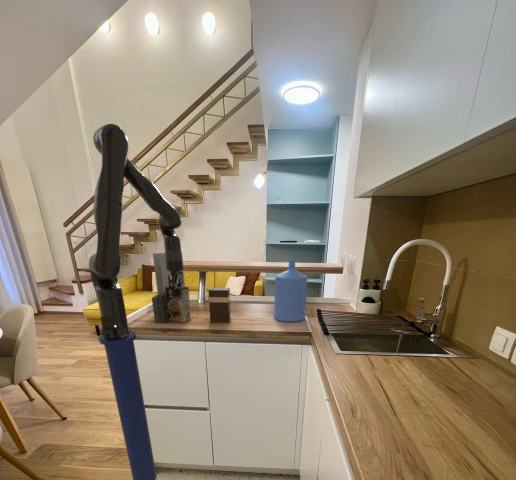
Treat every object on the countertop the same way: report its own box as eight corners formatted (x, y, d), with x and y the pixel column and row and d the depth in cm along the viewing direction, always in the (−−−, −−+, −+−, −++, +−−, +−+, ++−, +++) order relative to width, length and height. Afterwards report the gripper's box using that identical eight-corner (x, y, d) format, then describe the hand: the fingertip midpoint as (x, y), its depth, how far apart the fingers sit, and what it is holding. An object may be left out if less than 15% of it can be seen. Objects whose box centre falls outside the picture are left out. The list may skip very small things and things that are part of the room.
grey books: (165, 323, 132) (161, 295, 127) (154, 322, 132) (151, 295, 127) (172, 316, 142) (169, 291, 137) (163, 316, 142) (159, 290, 138)
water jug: (310, 320, 137) (315, 261, 127) (281, 323, 132) (283, 262, 122) (296, 312, 151) (299, 259, 140) (269, 315, 146) (270, 259, 136)
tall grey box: (166, 313, 147) (159, 254, 136) (159, 312, 150) (152, 253, 139) (186, 308, 158) (181, 252, 147) (180, 306, 161) (174, 252, 150)
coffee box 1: (168, 320, 136) (164, 287, 130) (176, 317, 141) (173, 285, 135) (183, 322, 133) (180, 288, 127) (191, 319, 138) (188, 286, 132)
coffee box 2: (228, 322, 133) (227, 290, 128) (210, 322, 134) (208, 290, 128) (230, 319, 139) (229, 287, 133) (212, 318, 139) (210, 287, 133)
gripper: (171, 258, 133) (174, 292, 139) (160, 261, 120) (164, 298, 126) (186, 258, 133) (189, 292, 139) (177, 261, 120) (180, 298, 126)
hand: (177, 295), depth 132 cm, fingers closed on coffee box 1, 7 cm apart
